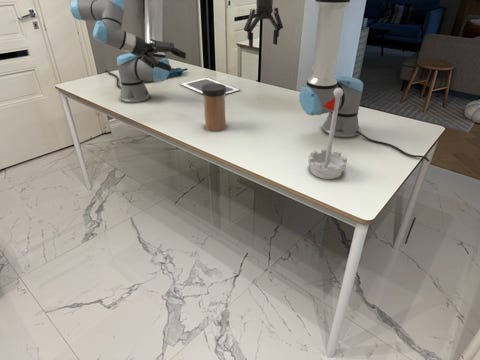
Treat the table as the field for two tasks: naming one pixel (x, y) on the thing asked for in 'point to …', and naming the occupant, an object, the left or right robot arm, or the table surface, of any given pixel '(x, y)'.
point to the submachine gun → (176, 71)
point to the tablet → (200, 83)
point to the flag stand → (329, 148)
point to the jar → (215, 112)
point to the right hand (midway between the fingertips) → (263, 45)
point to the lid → (214, 89)
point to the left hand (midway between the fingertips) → (177, 62)
